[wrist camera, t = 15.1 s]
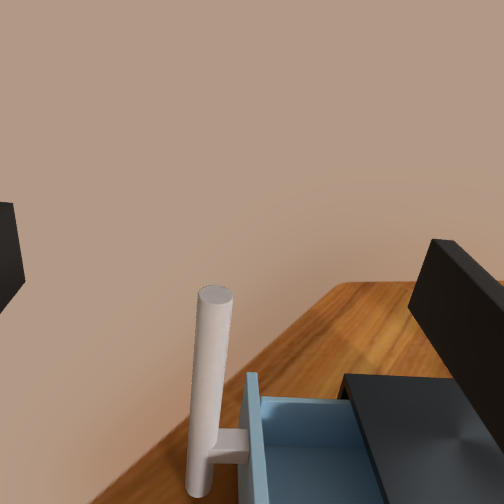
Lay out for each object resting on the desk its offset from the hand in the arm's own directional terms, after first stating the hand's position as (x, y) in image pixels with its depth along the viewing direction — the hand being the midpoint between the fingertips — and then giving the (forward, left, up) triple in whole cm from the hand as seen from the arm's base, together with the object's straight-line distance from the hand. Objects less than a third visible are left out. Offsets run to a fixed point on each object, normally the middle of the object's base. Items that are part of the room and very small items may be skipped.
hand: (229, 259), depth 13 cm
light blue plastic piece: (+3, +13, -30) cm, 32 cm away
